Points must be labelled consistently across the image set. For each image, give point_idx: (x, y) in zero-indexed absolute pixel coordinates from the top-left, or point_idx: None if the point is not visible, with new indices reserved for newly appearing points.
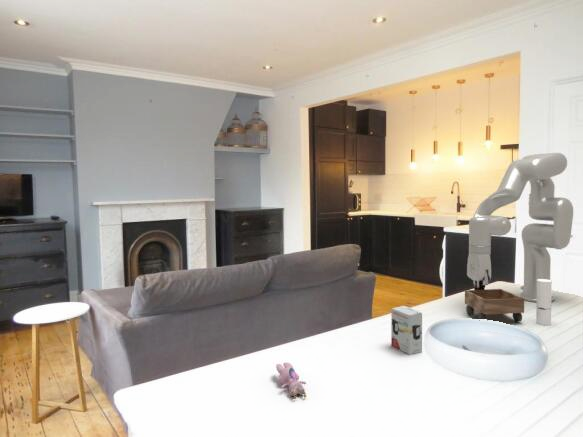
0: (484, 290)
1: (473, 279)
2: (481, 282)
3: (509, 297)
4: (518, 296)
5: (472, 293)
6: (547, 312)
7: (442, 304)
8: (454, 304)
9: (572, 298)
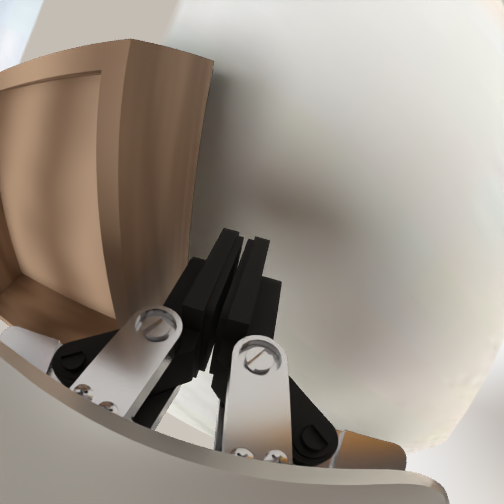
0: (118, 313)
1: (150, 429)
2: (54, 370)
3: (64, 332)
4: (5, 321)
5: (2, 84)
6: None
7: (494, 126)
8: (461, 192)
9: None
